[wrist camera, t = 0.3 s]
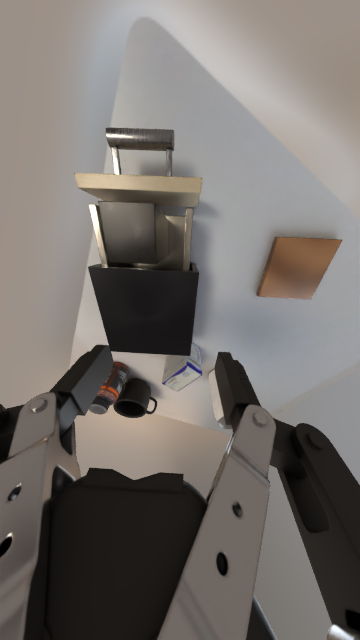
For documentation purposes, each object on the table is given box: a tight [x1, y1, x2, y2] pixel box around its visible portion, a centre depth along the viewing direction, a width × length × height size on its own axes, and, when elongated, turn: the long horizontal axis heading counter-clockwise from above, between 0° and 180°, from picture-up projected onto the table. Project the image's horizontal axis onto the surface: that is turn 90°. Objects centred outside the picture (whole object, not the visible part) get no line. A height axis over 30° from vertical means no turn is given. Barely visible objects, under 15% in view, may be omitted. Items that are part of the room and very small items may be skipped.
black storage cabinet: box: [88, 263, 199, 356], centre depth 25 cm, size 15×15×9 cm
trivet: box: [257, 237, 342, 299], centre depth 25 cm, size 10×10×1 cm
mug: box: [113, 379, 157, 418], centre depth 41 cm, size 12×9×7 cm
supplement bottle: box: [89, 362, 128, 414], centre depth 35 cm, size 6×6×11 cm
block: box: [98, 201, 168, 264], centre depth 18 cm, size 5×5×10 cm
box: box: [162, 343, 202, 391], centre depth 32 cm, size 8×4×9 cm, turn 139°
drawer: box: [74, 128, 202, 271], centre depth 20 cm, size 18×13×7 cm
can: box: [209, 369, 232, 429], centre depth 34 cm, size 6×6×12 cm
